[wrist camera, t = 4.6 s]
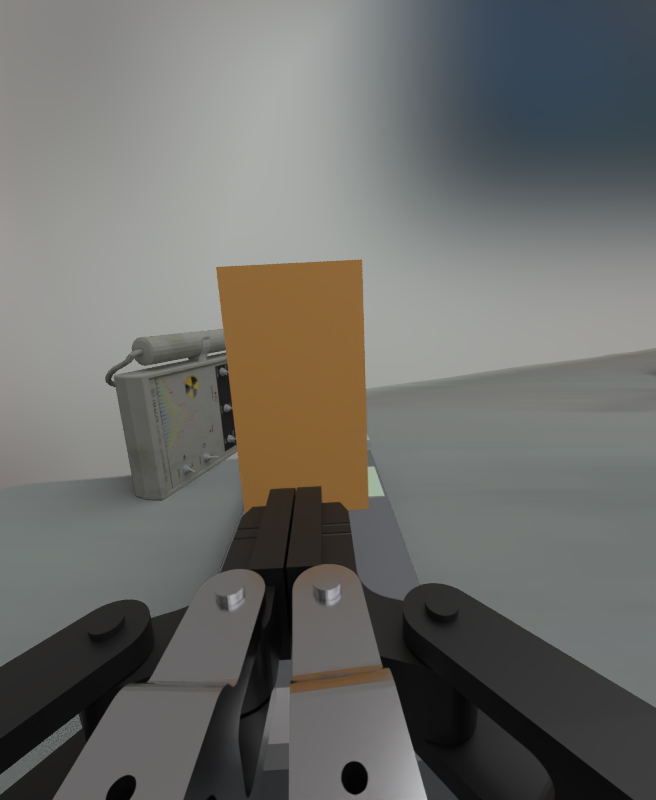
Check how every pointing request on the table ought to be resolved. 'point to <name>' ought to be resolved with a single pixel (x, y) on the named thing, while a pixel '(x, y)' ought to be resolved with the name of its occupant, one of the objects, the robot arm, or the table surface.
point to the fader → (297, 378)
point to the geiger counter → (175, 410)
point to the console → (383, 574)
